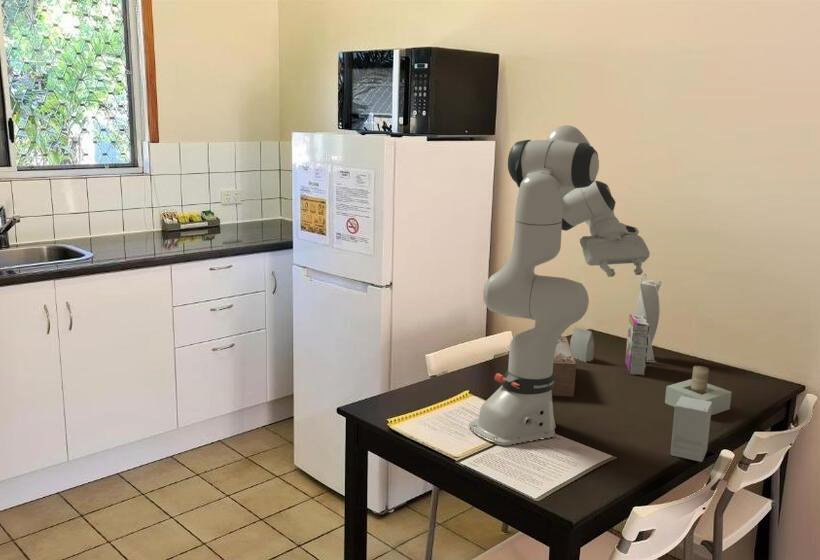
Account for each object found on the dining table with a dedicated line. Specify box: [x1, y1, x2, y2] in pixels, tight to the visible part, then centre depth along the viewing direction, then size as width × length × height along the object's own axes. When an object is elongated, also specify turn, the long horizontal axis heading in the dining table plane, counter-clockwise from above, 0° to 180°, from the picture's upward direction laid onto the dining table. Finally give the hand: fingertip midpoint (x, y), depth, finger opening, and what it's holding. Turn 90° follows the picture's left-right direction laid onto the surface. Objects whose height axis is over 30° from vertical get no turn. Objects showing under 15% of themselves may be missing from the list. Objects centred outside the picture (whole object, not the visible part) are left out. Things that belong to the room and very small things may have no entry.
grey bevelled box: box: [569, 326, 595, 363], centre depth 239 cm, size 4×7×10 cm, turn 38°
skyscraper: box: [635, 273, 662, 363], centre depth 239 cm, size 8×8×28 cm
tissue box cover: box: [552, 335, 577, 398], centre depth 219 cm, size 26×14×10 cm, turn 174°
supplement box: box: [670, 396, 712, 463], centre depth 173 cm, size 7×7×13 cm
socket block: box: [664, 378, 733, 416], centre depth 202 cm, size 12×12×5 cm
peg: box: [691, 365, 710, 395], centre depth 201 cm, size 4×4×11 cm
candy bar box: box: [624, 313, 649, 376], centre depth 229 cm, size 11×5×16 cm, turn 171°
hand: (625, 274), depth 209 cm, fingers open, 8 cm apart
